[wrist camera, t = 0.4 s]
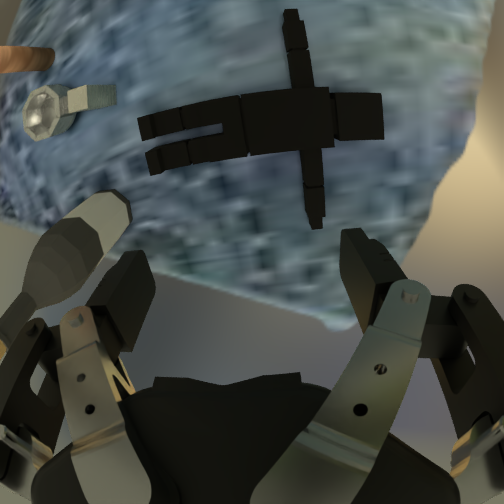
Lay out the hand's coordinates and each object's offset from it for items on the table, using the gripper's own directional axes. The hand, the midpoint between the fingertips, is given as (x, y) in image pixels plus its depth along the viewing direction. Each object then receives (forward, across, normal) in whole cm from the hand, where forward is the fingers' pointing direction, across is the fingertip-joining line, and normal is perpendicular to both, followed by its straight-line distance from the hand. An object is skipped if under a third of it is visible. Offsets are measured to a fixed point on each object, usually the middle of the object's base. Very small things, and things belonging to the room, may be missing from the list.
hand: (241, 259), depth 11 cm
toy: (+29, -2, -3) cm, 30 cm away
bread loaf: (+29, +30, -22) cm, 47 cm away
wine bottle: (+29, +23, +7) cm, 37 cm away
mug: (+29, +24, -12) cm, 39 cm away
